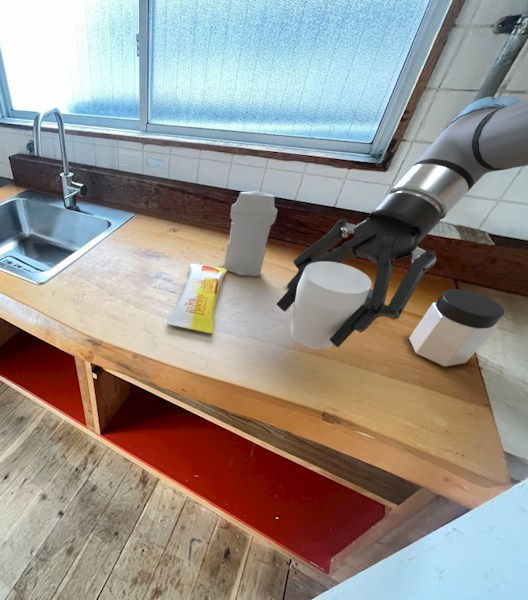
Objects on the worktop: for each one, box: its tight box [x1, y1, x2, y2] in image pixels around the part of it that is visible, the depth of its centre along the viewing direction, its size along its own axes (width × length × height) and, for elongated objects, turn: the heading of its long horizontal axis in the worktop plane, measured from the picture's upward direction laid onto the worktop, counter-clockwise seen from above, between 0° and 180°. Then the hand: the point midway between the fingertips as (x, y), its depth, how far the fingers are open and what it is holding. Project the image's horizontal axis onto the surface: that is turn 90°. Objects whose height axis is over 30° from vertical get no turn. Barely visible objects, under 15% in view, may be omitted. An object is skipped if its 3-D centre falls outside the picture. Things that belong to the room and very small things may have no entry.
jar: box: [408, 288, 505, 367], centre depth 59 cm, size 9×8×12 cm
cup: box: [290, 261, 373, 351], centre depth 50 cm, size 9×9×12 cm
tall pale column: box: [222, 191, 279, 277], centre depth 82 cm, size 11×4×22 cm, turn 66°
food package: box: [166, 263, 228, 334], centre depth 79 cm, size 27×2×10 cm
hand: (305, 324), depth 51 cm, fingers closed on cup, 9 cm apart
